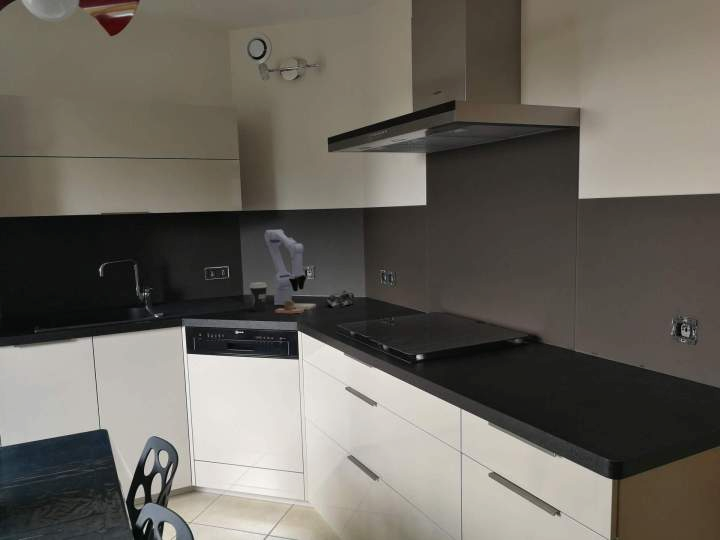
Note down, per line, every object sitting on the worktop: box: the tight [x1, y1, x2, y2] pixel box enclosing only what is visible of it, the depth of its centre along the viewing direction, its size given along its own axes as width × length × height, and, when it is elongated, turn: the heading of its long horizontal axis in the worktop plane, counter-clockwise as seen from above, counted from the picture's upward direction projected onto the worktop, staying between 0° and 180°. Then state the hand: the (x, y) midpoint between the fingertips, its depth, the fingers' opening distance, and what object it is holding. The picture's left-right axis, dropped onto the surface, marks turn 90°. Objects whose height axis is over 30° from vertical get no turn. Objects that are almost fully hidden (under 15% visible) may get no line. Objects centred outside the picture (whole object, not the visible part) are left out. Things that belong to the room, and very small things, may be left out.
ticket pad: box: [294, 302, 317, 310], centre depth 314 cm, size 14×9×2 cm, turn 72°
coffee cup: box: [248, 281, 268, 313], centre depth 307 cm, size 10×10×15 cm
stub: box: [274, 300, 305, 314], centre depth 299 cm, size 14×5×6 cm, turn 72°
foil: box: [325, 290, 355, 308], centre depth 316 cm, size 12×11×15 cm
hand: (298, 290), depth 315 cm, fingers open, 7 cm apart
